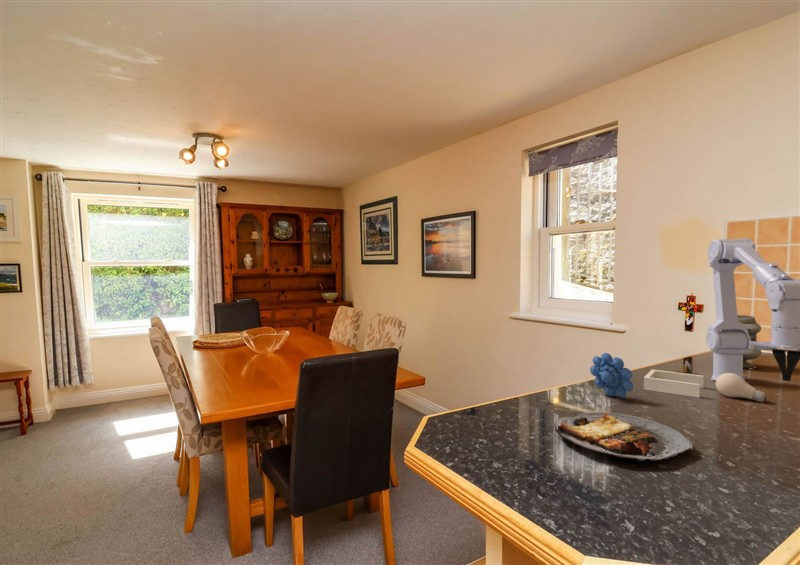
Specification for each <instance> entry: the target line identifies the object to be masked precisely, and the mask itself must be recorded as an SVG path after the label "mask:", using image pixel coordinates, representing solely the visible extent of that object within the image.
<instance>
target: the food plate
mask: <svg viewBox="0 0 800 565" xmlns="http://www.w3.org/2000/svg"><path fill="white" fill-rule="evenodd" d="M553 425H554V426H553V427H554V431H555V432H556V433H557V434H558V435H559V437H561V438H564V439H565V440H567V441H569V442H571V443H573V444H575V445H577V446H579V447H581V448H582V449H586V450H588V451H591V452H592V451H593V452H595V453H599V454H606V455H610V456H615V457H617V458H620V459H628V460H633V462H636V461H640V462H642V461H645V460H647V459H648V460H649V461H651V462H655V461H659V460H663V459H664V460H668V459H669V458H672V457H676V456H678V454H682V453H684V452H685V451H687V450H693V448H694V445H693V443H692V442H691V440H689V439H688V438H687V437H686V436H684V434H682V433H681V432H679V431H678V430H676V429H674V428H672V427H670V426H667V424H663V423H660V422H658V421H655V420H650V419H646V418H644V417H640V416H636V415H630V414H624V413H619V412H611V411H610V412H609V411H577V412H572V413H571V414H567V415H564V416H561V417H560V418H557V419H555V421H554V423H553ZM632 428H635V429H637V431H636V430H633V429H632ZM630 429H632V430H631V432H628V433H627V434H626V435H625V436H623V437H622V441H621V440H618V439H614V438H613V436H616V435H620V433H625V432H626V431H630ZM638 430H640V431H638ZM650 434H652V435H653V436H651V435H650ZM654 436H655V437H657V438H658V439H660V440H661V441H662V442H661V443H662V444H663V443H664V444H665V445H664V447H666V449H663V450H664V451H663V450H662V453H663V454H662V453H660V455H659V454H657V455H655V456H650V457H648V456H646V455H647V453H649V452H650V450H653V449H654V448H653V446H652V445H651V444H648V443H649V442H648V443H646V441H650V442H652V441H651V440H656V441H657V440H658V439H657V438H655V437H654ZM607 438H608V441H607V440H605V439H607ZM609 438H612V440H611V439H609ZM660 440H659V441H660ZM594 445H595V446H594ZM601 448H603V449H605V450H603V449H601Z"/></svg>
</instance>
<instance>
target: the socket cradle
mask: <svg viewBox="0 0 800 565" xmlns="http://www.w3.org/2000/svg"><path fill="white" fill-rule="evenodd" d="M704 381H705V380H704V375H700V374H692V373H684V372H675V371H667V370H660V369H653V368H651V369H650V371H649V372H648V373H647V374H645V375H644V377H643V390H644V391H645V390H646V391H653V392H659V393H666V394H672V395H678V396H679V395H680V396H686V397H691V398H692V397H693V398H698V399H700V396H701V395H700V392H701V391H700V390H701V389H704V385H705V384H704V383H705V382H704Z"/></svg>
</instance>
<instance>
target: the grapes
mask: <svg viewBox="0 0 800 565" xmlns="http://www.w3.org/2000/svg"><path fill="white" fill-rule="evenodd" d="M592 363H593V365H591V366H590V368H589V371H590V374H591V375H592V376H593V377H595V378H594V380H593V381H594V384H595V385H596V386H597V387H598V388H600V389H603V390H604V393H605V394H606V395H607V396H609V397H611V396H612V397H614V396H615V395H616V396H617V397H619V398H621V399H623V398H626V397H627V396H628V394H627V393H628V392H632V391H633V390H634V384H633V382H632V381H631V379H633V372H632V371H631V370H630V368H627V367H625V363H624V361H623V359H622V358H620V357H613V356H612V355H611V354H610V353H607V352H603V353H602V354H601V357H600V356H598V355H597V356H596V355H595V356H593V358H592Z"/></svg>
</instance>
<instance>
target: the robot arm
mask: <svg viewBox="0 0 800 565" xmlns="http://www.w3.org/2000/svg"><path fill="white" fill-rule="evenodd" d="M707 259H708V266H709V267H711V268H712V274H713V275H712V276H713V287H714V288H713V290H714V301H715V312H716V314H715V315H716V320H715V321H714V322H712V323H711V324H710V325H708V326H707V329H706V330H707V331H706V332H707V333H706V336H705V342H706V345H707V346H708V348H709V349H710V351H711V352H713V356H712V357H713V358H712V360H713V361H712V362H713V365H712V366H713V367H712V368H713V369H712V370H713V371H712V375H711V378H710V380H711V381H714V382H716V379H717V378H718V377H719V376H720V375H722V374H724V373H733V374H736V375H738V376H740V377H741V378H742V379H743V380H744V381H745V382H746V378H745V376H743V375H744V369H743V353H746V351H747V350H748V349H753V350H754V349H758V350H761V351H771V352H772V355H773V357H774V359H775V361H776V363H777V365H778V367H779V370H780V372H781V378H782V379H781V380H782V381H785V382H791V379H792V374H793V372H794V371H795V367H796V366H797V365H798V362H799V361H800V279H799V278H798V279H796V277H794V278H793V277H791V276H790V275H789V274H787V273H786V272H785V271H784V270H782V268H781V267H779V265H778V264H777V263H776V262H767V261H766V260H765V259H764V258H763V257H762V256H761V255H760V254H759V252H758V251H757V248H756V243H755V242H754V241H753V240H752V239H751V238H748V237H747V238H728V239H727V238H726V239H719V238H715V239H713V240H712V241H711V242H710V244H709V245H708V248H707ZM743 264H744V265H745V266H746V267H748V268H749V269H750V270H751V271H752V277H753V278H754V280H756V282H758V284H760V285H761V286H762V288H764V289H765V292H764V294H765V297H766V299H767V301H768V307H769V309H771V334H770V335H771V338H770V341H757V342H756V341H751V339H750V336H749V334H748V330H747V327H746V326H745V325H743V324H742V323H740V322H739V321H738V317H737V315H738V308H737V306H738V305H737V297H736V296H737V294H736V285H735V284H736V283H735V274H734V271H735V269H736V268H737V267H741V266H742V265H743ZM722 329H732V330H734V331H721V330H722Z"/></svg>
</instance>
